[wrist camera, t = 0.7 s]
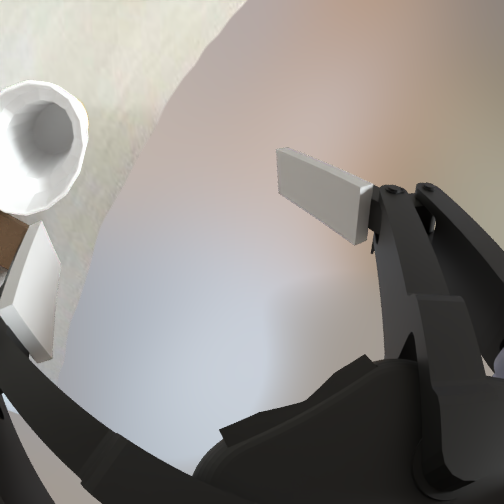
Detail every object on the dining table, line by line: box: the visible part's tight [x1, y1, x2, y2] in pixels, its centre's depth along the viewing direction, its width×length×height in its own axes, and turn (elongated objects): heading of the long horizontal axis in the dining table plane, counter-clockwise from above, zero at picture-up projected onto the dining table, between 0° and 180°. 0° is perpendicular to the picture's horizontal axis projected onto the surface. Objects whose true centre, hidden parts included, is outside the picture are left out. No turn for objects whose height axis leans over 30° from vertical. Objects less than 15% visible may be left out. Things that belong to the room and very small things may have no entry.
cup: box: [0, 80, 89, 216], centre depth 23 cm, size 11×11×17 cm
